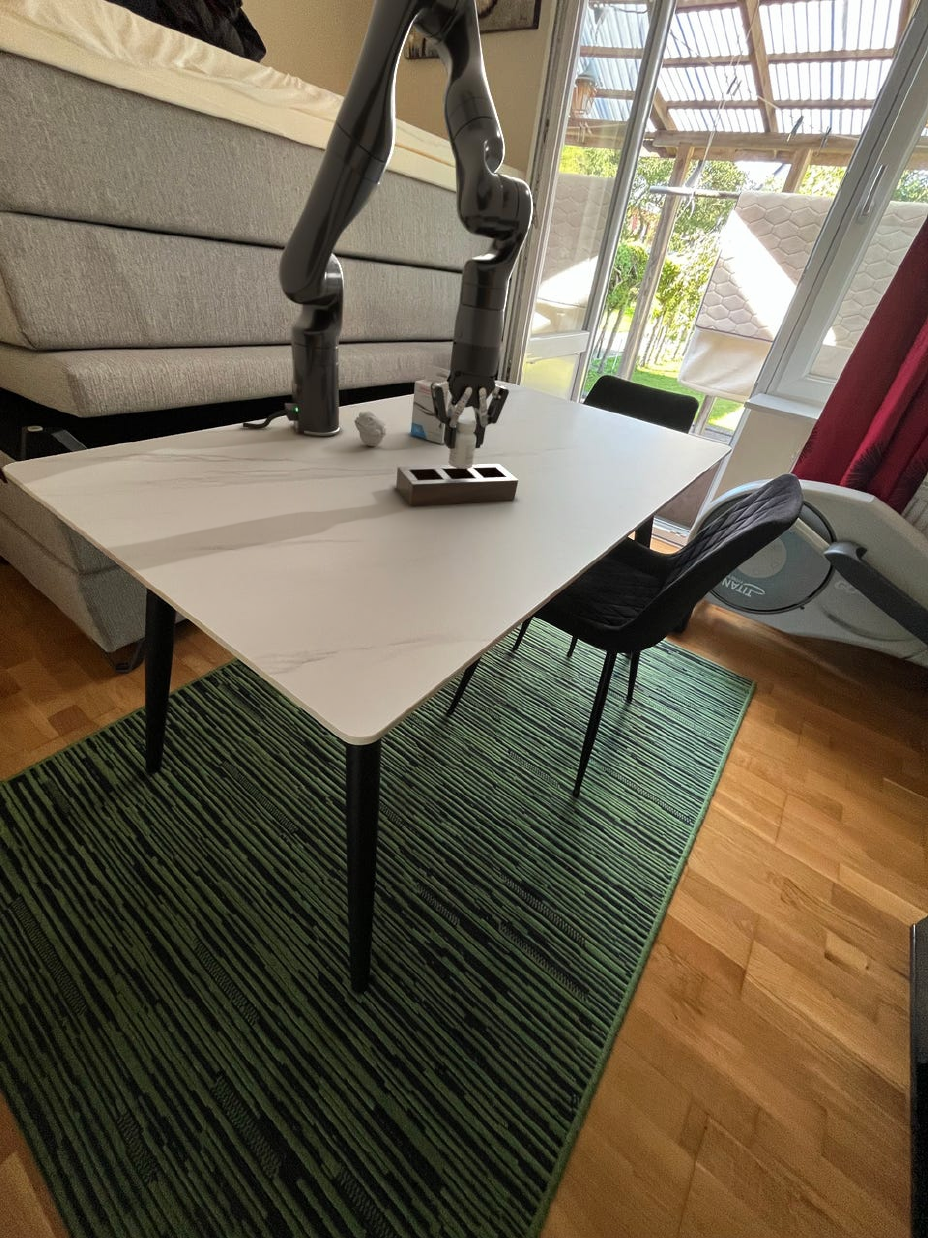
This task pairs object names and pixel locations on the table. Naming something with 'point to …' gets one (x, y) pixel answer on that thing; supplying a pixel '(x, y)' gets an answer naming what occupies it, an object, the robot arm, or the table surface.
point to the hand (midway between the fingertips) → (462, 446)
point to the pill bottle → (463, 444)
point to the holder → (455, 484)
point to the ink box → (428, 407)
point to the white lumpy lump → (370, 428)
